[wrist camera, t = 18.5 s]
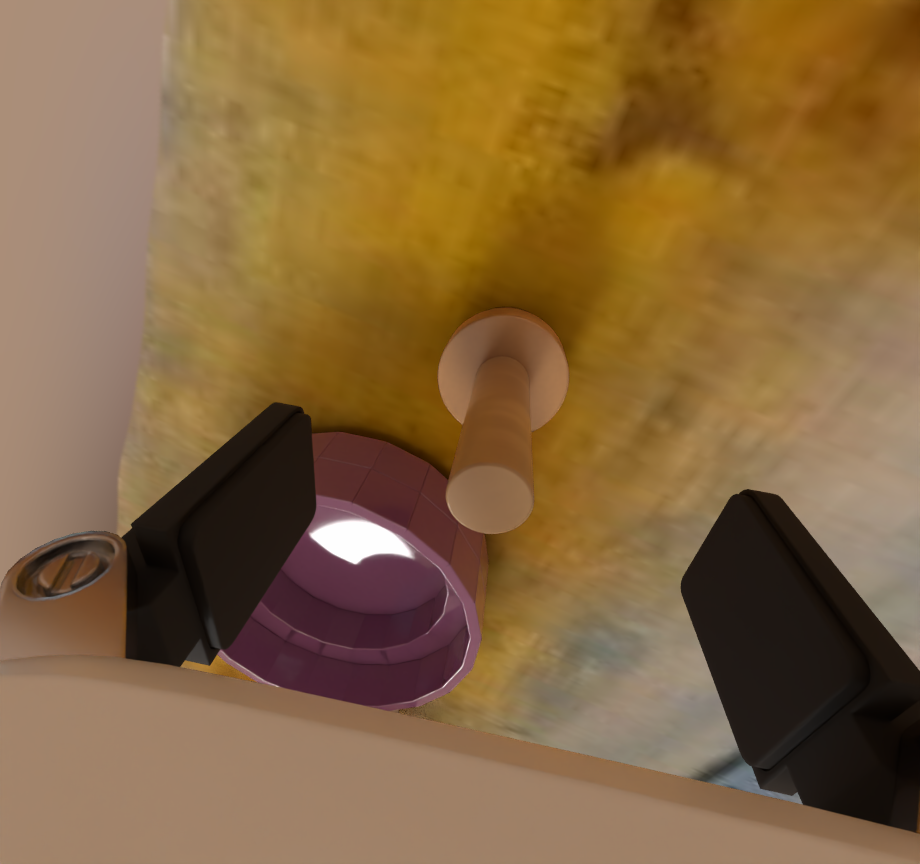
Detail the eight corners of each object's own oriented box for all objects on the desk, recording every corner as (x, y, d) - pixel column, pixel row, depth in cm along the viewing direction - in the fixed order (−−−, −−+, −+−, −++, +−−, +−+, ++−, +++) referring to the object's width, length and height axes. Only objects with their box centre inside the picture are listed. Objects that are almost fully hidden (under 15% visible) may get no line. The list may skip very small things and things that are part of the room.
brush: (538, 279, 18) (558, 364, 9) (578, 387, 20) (630, 553, 11) (429, 328, 20) (342, 446, 10) (475, 423, 22) (440, 596, 12)
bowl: (406, 381, 21) (368, 439, 16) (528, 596, 27) (530, 689, 22) (185, 478, 26) (101, 547, 21) (330, 641, 32) (293, 726, 27)
